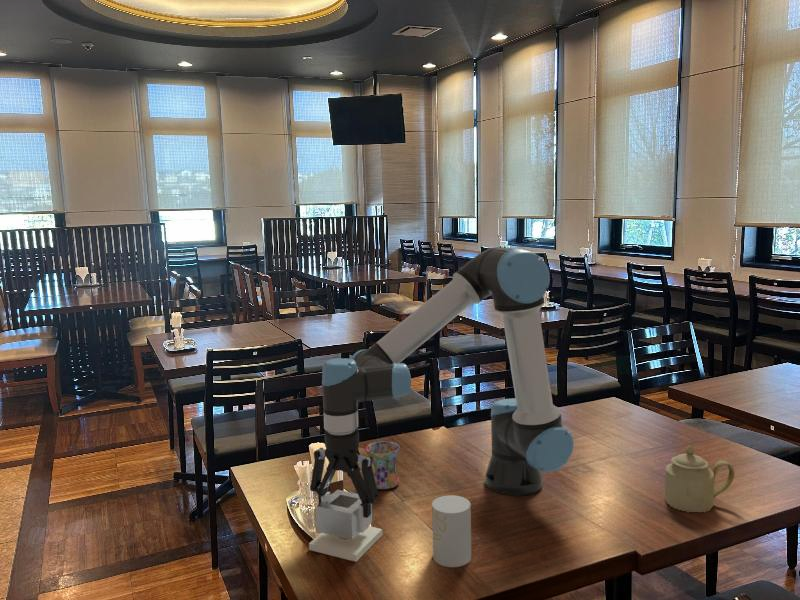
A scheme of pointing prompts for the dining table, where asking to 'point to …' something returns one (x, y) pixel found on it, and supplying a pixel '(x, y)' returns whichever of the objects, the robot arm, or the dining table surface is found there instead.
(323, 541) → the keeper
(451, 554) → the white upright cylinder
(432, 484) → the dining table surface
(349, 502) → the grey block with hole
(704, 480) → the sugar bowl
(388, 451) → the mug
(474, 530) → the dining table surface
